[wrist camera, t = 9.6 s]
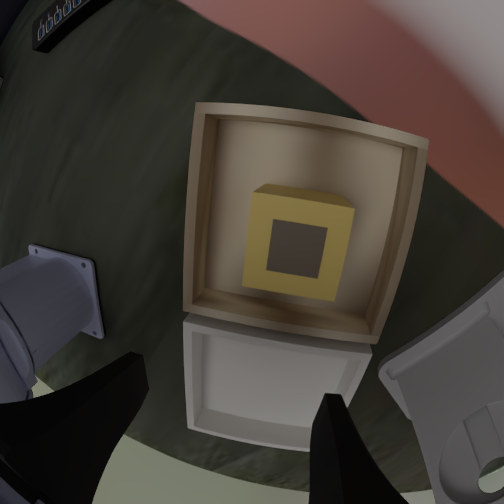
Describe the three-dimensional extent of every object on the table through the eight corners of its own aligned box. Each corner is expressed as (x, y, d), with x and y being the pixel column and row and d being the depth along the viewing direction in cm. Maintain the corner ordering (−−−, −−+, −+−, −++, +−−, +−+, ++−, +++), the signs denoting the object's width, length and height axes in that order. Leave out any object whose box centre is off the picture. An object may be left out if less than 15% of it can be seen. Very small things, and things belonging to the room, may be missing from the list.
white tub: (197, 405, 24) (187, 427, 22) (198, 300, 20) (183, 321, 18) (322, 428, 23) (321, 452, 20) (365, 328, 19) (372, 354, 16)
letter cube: (256, 255, 18) (241, 286, 14) (265, 183, 16) (251, 192, 12) (327, 267, 17) (334, 302, 13) (341, 195, 16) (355, 209, 12)
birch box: (199, 290, 20) (183, 310, 17) (213, 110, 16) (195, 102, 13) (368, 319, 19) (376, 344, 16) (409, 141, 14) (429, 139, 12)
